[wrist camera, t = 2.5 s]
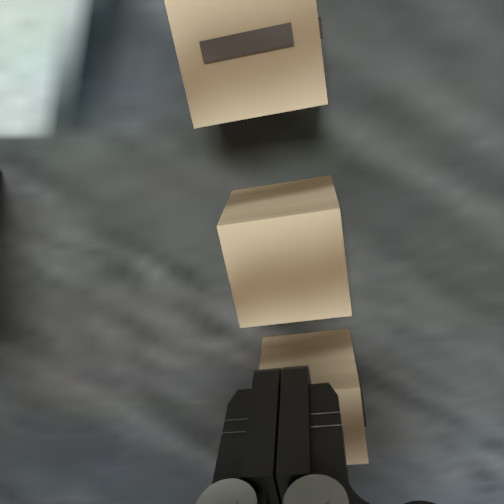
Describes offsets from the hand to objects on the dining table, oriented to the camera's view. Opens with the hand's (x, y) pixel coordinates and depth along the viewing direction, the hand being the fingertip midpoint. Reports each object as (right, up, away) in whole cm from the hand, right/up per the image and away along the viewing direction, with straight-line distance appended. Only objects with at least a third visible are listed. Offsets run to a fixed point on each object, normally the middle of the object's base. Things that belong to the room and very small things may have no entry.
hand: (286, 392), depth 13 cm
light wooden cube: (+3, -3, +15) cm, 15 cm away
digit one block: (-1, +13, +7) cm, 15 cm away
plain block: (+1, +5, +11) cm, 12 cm away
